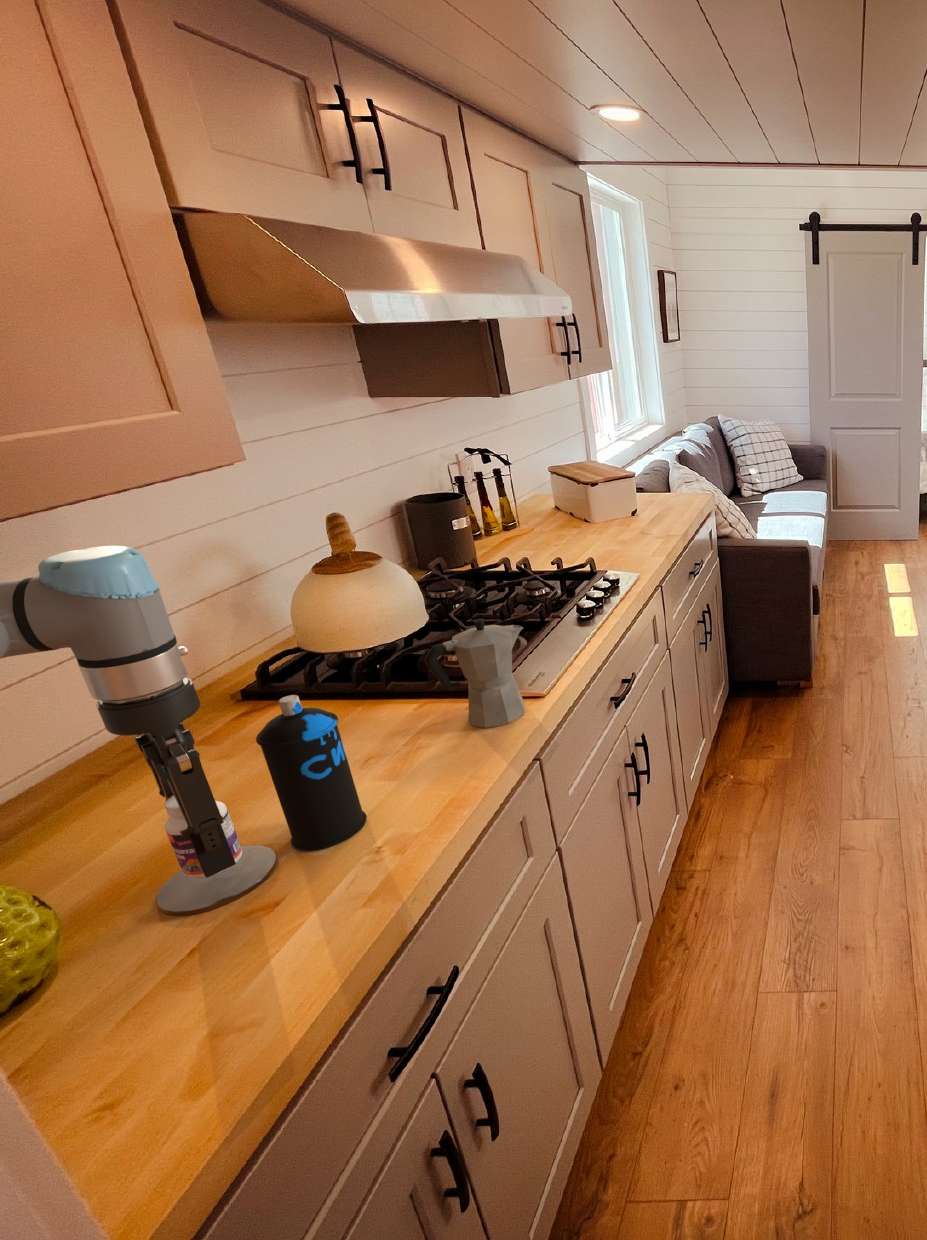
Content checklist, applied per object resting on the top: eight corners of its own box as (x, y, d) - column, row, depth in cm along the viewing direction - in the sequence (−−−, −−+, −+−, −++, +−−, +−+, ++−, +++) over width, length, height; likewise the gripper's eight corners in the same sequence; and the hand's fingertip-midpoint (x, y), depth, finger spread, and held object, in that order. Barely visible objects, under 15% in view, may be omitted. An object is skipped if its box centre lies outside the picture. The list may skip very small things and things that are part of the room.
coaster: (134, 924, 79) (132, 920, 79) (192, 857, 89) (190, 853, 89) (250, 904, 82) (248, 900, 82) (294, 842, 92) (292, 838, 92)
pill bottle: (171, 877, 83) (142, 809, 79) (217, 846, 88) (191, 780, 84) (211, 882, 82) (183, 813, 79) (255, 850, 87) (231, 784, 84)
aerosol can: (275, 852, 90) (226, 716, 83) (320, 810, 98) (279, 682, 91) (340, 851, 91) (298, 715, 84) (380, 809, 98) (344, 682, 91)
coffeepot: (523, 691, 130) (507, 601, 124) (547, 709, 124) (531, 615, 118) (432, 724, 119) (408, 627, 113) (453, 745, 113) (430, 644, 107)
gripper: (217, 698, 74) (279, 872, 83) (164, 654, 84) (225, 813, 92) (118, 729, 69) (195, 913, 77) (74, 678, 78) (147, 846, 86)
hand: (211, 858), depth 84 cm, fingers closed on pill bottle, 5 cm apart
